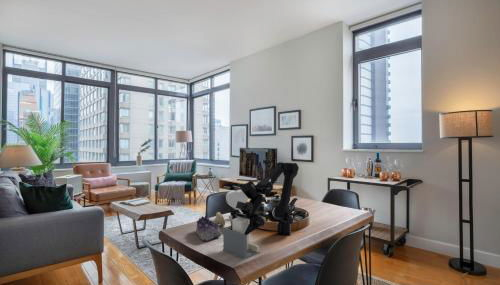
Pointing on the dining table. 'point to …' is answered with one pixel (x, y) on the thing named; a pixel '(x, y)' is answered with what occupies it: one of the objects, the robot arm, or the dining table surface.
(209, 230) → the geode
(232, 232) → the bookend
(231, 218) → the hinge
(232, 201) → the heart sculpture
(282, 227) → the robot arm
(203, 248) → the dining table surface
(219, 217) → the beige lumpy piece
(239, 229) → the white tapered vase
